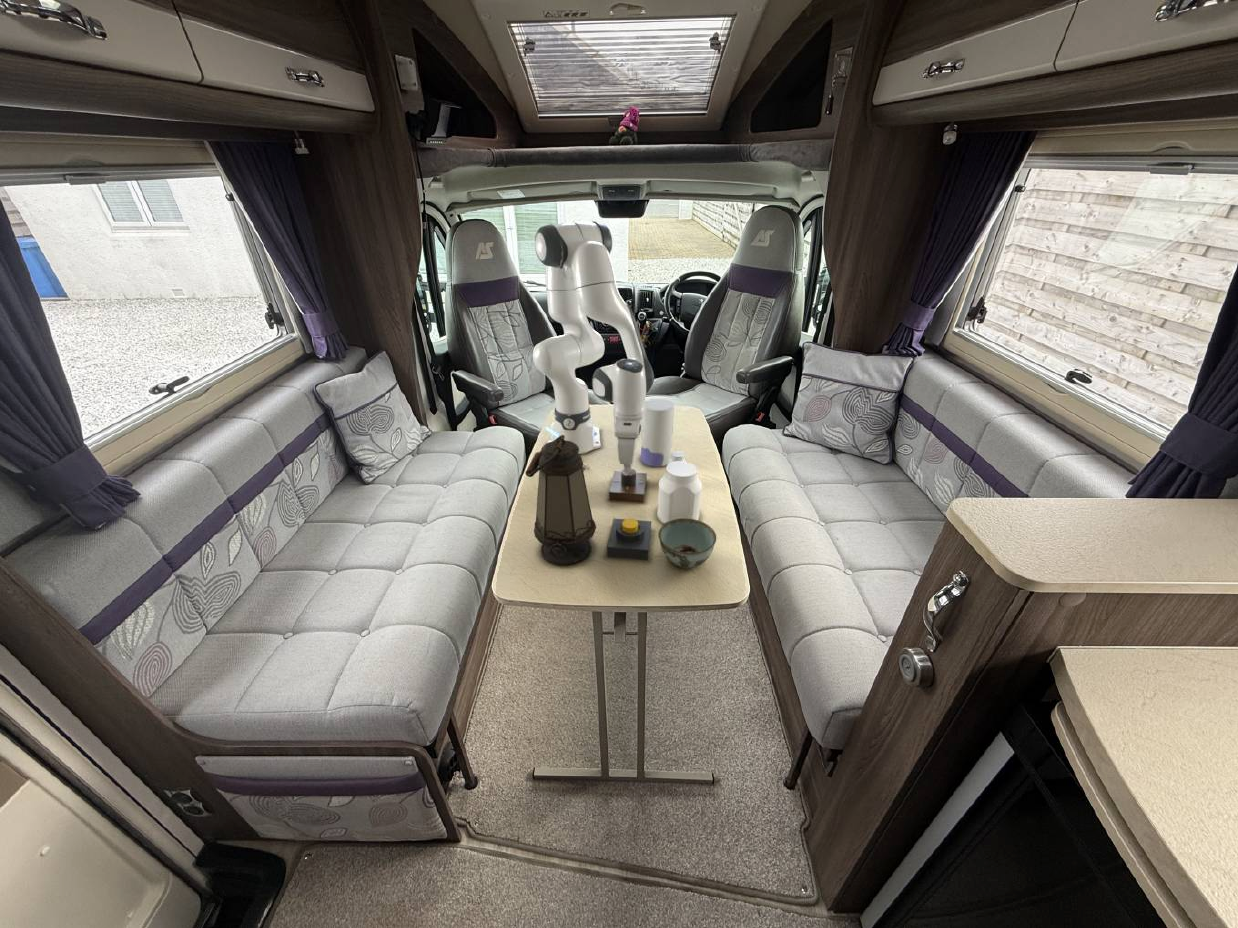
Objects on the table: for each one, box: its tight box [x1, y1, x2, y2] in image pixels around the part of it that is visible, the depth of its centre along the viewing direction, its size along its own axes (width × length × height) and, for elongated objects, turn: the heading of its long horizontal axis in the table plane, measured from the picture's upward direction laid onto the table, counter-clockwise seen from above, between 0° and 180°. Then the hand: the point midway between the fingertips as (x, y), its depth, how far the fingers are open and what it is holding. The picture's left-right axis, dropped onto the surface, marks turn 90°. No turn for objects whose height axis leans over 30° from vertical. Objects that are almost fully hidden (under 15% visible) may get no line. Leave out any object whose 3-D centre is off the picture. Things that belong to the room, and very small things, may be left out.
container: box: [640, 398, 675, 468], centre depth 161 cm, size 10×10×20 cm
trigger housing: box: [606, 518, 652, 561], centre depth 126 cm, size 12×10×5 cm
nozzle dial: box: [620, 468, 637, 486], centre depth 147 cm, size 4×4×4 cm
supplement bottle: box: [667, 450, 687, 465], centre depth 151 cm, size 5×5×10 cm
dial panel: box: [608, 470, 648, 504], centre depth 148 cm, size 12×10×3 cm
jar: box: [656, 460, 703, 524], centre depth 134 cm, size 12×10×15 cm
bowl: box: [658, 518, 717, 570], centre depth 119 cm, size 14×13×8 cm
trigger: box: [622, 518, 638, 533], centre depth 124 cm, size 4×4×2 cm
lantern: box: [524, 435, 597, 567], centre depth 118 cm, size 18×15×30 cm
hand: (629, 463), depth 144 cm, fingers open, 8 cm apart
